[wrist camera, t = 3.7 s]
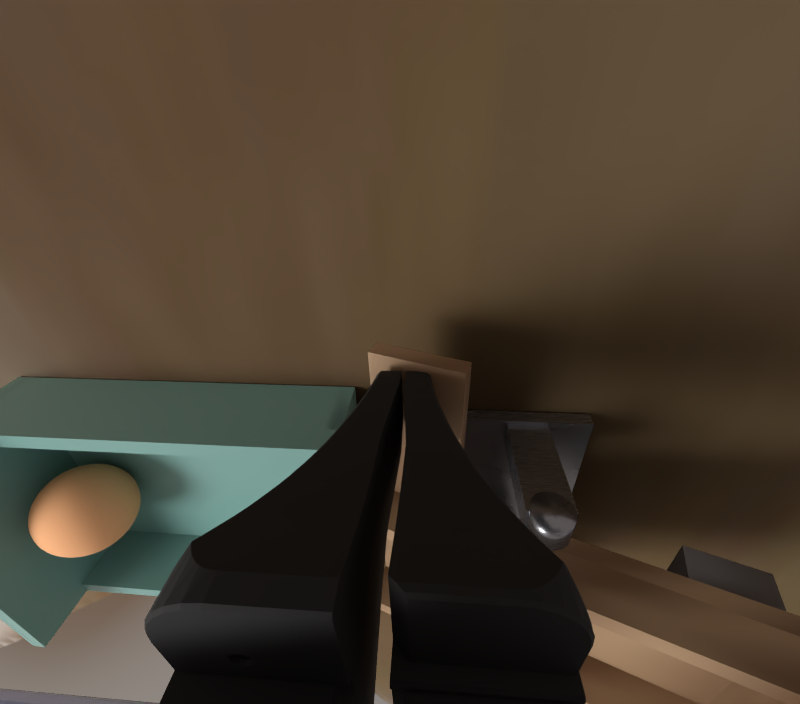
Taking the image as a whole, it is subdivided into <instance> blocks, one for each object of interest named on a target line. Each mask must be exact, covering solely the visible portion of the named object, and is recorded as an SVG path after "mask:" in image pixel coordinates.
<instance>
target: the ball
mask: <svg viewBox="0 0 800 704" xmlns="http://www.w3.org/2000/svg"><path fill="white" fill-rule="evenodd" d="M140 503H141V497H140V490H139V487H138V485H137V483H136V481H135V480H134V478H133V477H132V476H131V475H130V474H129V473H127V472H126V471H125V470H123V469H121V468H119V467H116V466H113V465H109V464H87V465H82V466H79V467H75V468H72V469H70V470H68V471H66V472H63V473H62V474H60V475H58V476H57V477H55V478H54V479H53V480H51V481H50V482H49V483H48V484H47V485H46V486H45V487H44V488H43V489H42V490H41V491H40V492H39V493H38V495H37V496H36V498H35V500H34V501H33V503H32V506H31V508H30V511H29V516H28V528H29V532H30V535H31V537H32V539H33V541H34V542H35V543H36V544H37V545H38V546H39V547H40V548H41V549H42V550H44V551H46V552H47V553H49V554H52V555H55V556H59V557H67V558H74V557H83V556H87V555H91V554H94V553H97V552H99V551H102V550H104V549H105V548H107V547H109V546H111V545H112V544H114V543H115V542H116V541H118V540H119V539H120V538H121V537H122V536H123V535H124V534H125V533H126V532H127V531H128V530H129V529H130V527H131V526H132V524H133V523H134V521H135V519H136V517H137V515H138V512H139V508H140Z"/></svg>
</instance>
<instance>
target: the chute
mask: <svg viewBox="0 0 800 704" xmlns="http://www.w3.org/2000/svg"><path fill="white" fill-rule="evenodd" d="M368 360H369V372H370V384H372V383H373V381H374V379H375V378H376V376H377V374H378V373H379V372H380V371H402V397H403V435H402V450H401V457H400V463H399V469H398V474H397V480H396V485H395V491H394V496H393V502H392V507H391V513H390V518H389V524H388V532H387V540H386V551H385V560H386V567H385V569H384V574H383V587H382V599H381V610H382V611H384V612H386V613H388V614H390V615H391V608H390V596H389V584H388V570H389V564H390V558H391V552H392V545H393V539H394V533H395V526H396V519H397V512H398V505H399V497H400V490H401V481H402V473H403V465H404V456H405V447H406V433H405V396H404V383H405V377H406V372H407V371H418V372H426V373H428V374H429V375H430V376H431V380H432V384H433V388H434V391H435V394H436V396H437V399H438V401H439V404H440V406H441V408H442V410H443V413H444V415H445V417H446V419H447V421H448V423H449V425H450V427H451V429H452V431H453V432H454V434H455V436H456V438H457V439H458V441H459V443H460V444H461V446H462V448H463V449H464V447H465V436H466V424H467V413H468V401H469V390H470V378H471V367H472V362H468V361H463V360H458V359H454V358H449V357H444V356H439V355H435V354H430V353H425V352H420V351H415V350H411V349H406V348H401V347H396V346H391V345H387V344H382V343H376V344H375V345H374V346H373V347H372V348H371V349H370V350H369V351H368ZM551 551H552V552H553V553H554V554H555V555H556V556H558V557H559V558H560V559H561V560H562V561H563V562H564V563H565V564H566V566H567V568H568V570H569V572H570V574H571V576H572V578H573V580H574V582H575V584H576V586H577V589H578V591H579V593H580V595H581V597H582V600H583V602H584V604H585V607H586V609H587V612H588V614H589V617H590V620H591V623H592V628H593V632H594V635H595V639H594V644H593V647H592V649H591V651H590V652H589V654H588V656H587V658H586V660H585V661H584V663H583V665H582V667H581V668H580V670H579V673H580V676H581V680H582V684H583V688H584V692H585V696H586V703H585V704H800V616H797V615H794V614H792V613H789V612H786V609H785V606H784V604H783V601H782V598H781V595H780V593H779V590H778V587H777V585H776V582H775V579H774V576H773V574H770V573H767V572H764V571H761V570H758V569H755V568H751V567H748V566H745V565H742V564H739V563H736V562H733V561H730V560H726V559H723V558H720V557H717V556H714V555H711V554H708V553H705V552H701V551H698V550H695V549H692V548H689V547H686V546H682V547H681V549H680V550H679V552H678V553H677V555H676V557H675V558H674V560H673V561H672V563H671V564H670V566H669V568H668V569H667V570H664V569H661V568H658V567H655V566H652V565H649V564H646V563H644V562H641V561H638V560H635V559H632V558H629V557H626V556H623V555H620V554H617V553H615V552H612V551H609V550H606V549H603V548H600V547H597V546H594V545H591V544H588V543H586V542H583V541H580V540H577V539H574V538H571V539H570V542H569V544H568V545H567V546H566V547H565V548H563V549H561V550H551Z"/></svg>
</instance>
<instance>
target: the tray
mask: <svg viewBox="0 0 800 704" xmlns="http://www.w3.org/2000/svg"><path fill="white" fill-rule="evenodd" d="M356 406H357V401H356V393H355V387H335V386H302V385H269V384H236V383H203V382H170V381H137V380H104V379H71V378H38V377H18V378H17V379H15V380H14V381H12V382H10V383H9V384H7V385H6V386H4V387H2V388H1V389H0V619H1V620H2V621H4V622H5V623H6V624H7V625H8V626H10V627H11V628H12V629H13V630H15V631H16V632H17V633H18V634H20V635H21V636H22V637H23V638H24V639H26V640H27V641H28V642H29V643H31V644H32V645H33V646H41V647H46V645H47V644H48V642H49V641H50V640H51V638H52V637H53V636H54V634H55V633H56V632H57V630H58V629H59V627H60V626H61V625H62V623H63V622H64V621H65V619H66V618H67V617H68V615H69V614H70V613H71V611H72V610H73V609H74V607H75V606H76V604H77V603H78V602H79V600H80V599H81V598H82V596H83V595H84V594H85V592H86V591H87V590H89V591H101V592H113V593H126V594H138V595H150V596H158V595H159V593H160V592H161V590H162V588H163V586H164V584H165V583H166V581H167V579H168V577H169V576H170V574H171V572H172V571H173V569H174V567H175V566H176V564H177V562H178V561H179V559H180V558H181V556H182V555H183V554H184V552H185V551H186V549H187V548H188V546H189V545H190V543H191V542H192V541H193V540H195V539H196V538H198V537H200V536H202V535H203V534H205V533H207V532H208V531H210V530H212V529H213V528H215V527H217V526H218V525H220V524H221V523H223V522H225V521H226V520H228V519H230V518H231V517H233V516H235V515H236V514H238V513H239V512H241V511H242V510H244V509H245V508H247V507H248V506H250V505H251V504H253V503H254V502H255V501H257V500H258V499H259V498H261V497H262V496H264V495H265V494H266V493H268V492H269V491H270V490H272V489H273V488H274V487H276V486H277V485H278V484H280V483H281V482H282V481H283V480H285V479H286V478H287V477H288V476H290V475H291V474H292V473H293V472H294V471H295V470H296V469H298V468H299V467H300V466H301V465H302V464H303V463H304V462H306V461H307V460H308V459H309V458H310V457H311V456H312V455H313V454H314V453H315V452H316V451H317V450H318V449H319V448H320V447H321V446H322V445H323V444H324V443H325V442H326V441H327V440H328V439H329V438H330V437H331V436H332V435H333V434H334V432H335V431H336V430H337V429H338V428H339V427H340V425H341V424H342V423H343V422H344V421H345V420H346V419H347V417H348V416H349V415H350V414H351V412H352V411H353V410H354V408H355V407H356ZM87 464H109V465H113V466H116V467H119V468H121V469H123V470H125V471H126V472H127V473H129V474H130V475H131V476H132V477H133V478H134V480H135V481H136V483H137V485H138V487H139V490H140V497H141V503H140V508H139V512H138V515H137V517H136V519H135V521H134V523H133V524H132V526H131V527H130V529H129V530H128V531H127V532H126V533H125V534H124V535H123V536H122V537H121V538H120V539H119V540H118V541H116V542H115V543H114V544H112V545H111V546H109V547H107V548H105V549H104V550H102V551H99V552H97V553H94V554H91V555H87V556H83V557H74V558H67V557H59V556H55V555H52V554H49V553H47V552H46V551H44V550H42V549H41V548H40V547H39V546H38V545H37V544H36V543H35V542H34V541H33V539H32V537H31V535H30V532H29V528H28V516H29V511H30V508H31V506H32V503H33V501H34V500H35V498H36V496H37V495H38V493H39V492H40V491H41V490H42V489H43V488H44V487H45V486H46V485H47V484H48V483H49V482H50V481H51V480H53V479H54V478H55V477H57V476H58V475H60V474H62V473H63V472H66V471H68V470H70V469H72V468H75V467H79V466H82V465H87Z"/></svg>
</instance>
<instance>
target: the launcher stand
mask: <svg viewBox="0 0 800 704" xmlns="http://www.w3.org/2000/svg"><path fill="white" fill-rule="evenodd" d="M593 426H594V423H593V421H592V419H591V417H590V415H589V414H573V413H544V412H516V411H487V410H468V413H467V424H466V436H465V447H464V451H465V452H466V454H467V455H468V457H469V458H470V460H471V461H472V463H473V464H474V465H475V467H476V468H477V470H478V471H479V472H480V474H481V475H482V476H483V478H484V479H485V480H486V482H487V483H488V484H489V485H490V486H491V488H492V489H493V490H494V491H495V492H496V493H497V495H498V496H499V497H500V498H501V499H502V500H503V502H504V503H505V504H506V505H507V506H508V508H509V509H510V510H511V511H512V512H513V513H514V514H515V515H516V516H517V517H518V518H519V519H520V520H521V521H522V523H523V524H524V525H525V526H526V527H527V528H528V529H529V530H530V531H531V532H532V533H533V534H534V535H535V536H536V537H537V538H538V539H539V540H540V541H542V542H543V543H544V544H545V545H546V546H547V547H548V548H549V549H550V550H561V549H563V548H565V547H566V546H567V545H568V544H569V542H570V539H571V536H572V534H573V531H574V528H575V525H576V522H577V518H578V515H579V512H578V509H577V506H576V503H575V501H574V498H573V495H572V490H573V487H574V484H575V481H576V478H577V475H578V472H579V469H580V466H581V463H582V460H583V457H584V454H585V451H586V447H587V444H588V441H589V438H590V435H591V432H592V429H593Z"/></svg>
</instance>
